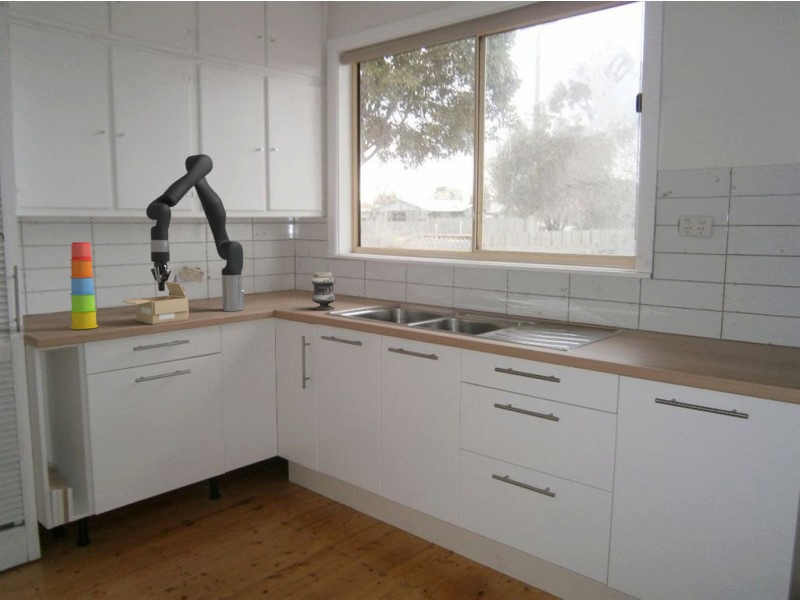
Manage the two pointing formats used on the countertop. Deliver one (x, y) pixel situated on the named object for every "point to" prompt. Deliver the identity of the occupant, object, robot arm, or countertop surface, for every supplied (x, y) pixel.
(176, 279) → the squeeze bottle
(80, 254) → the stacking cups
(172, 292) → the flap
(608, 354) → the countertop surface
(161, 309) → the carton
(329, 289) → the apothecary jar
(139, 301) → the flap
